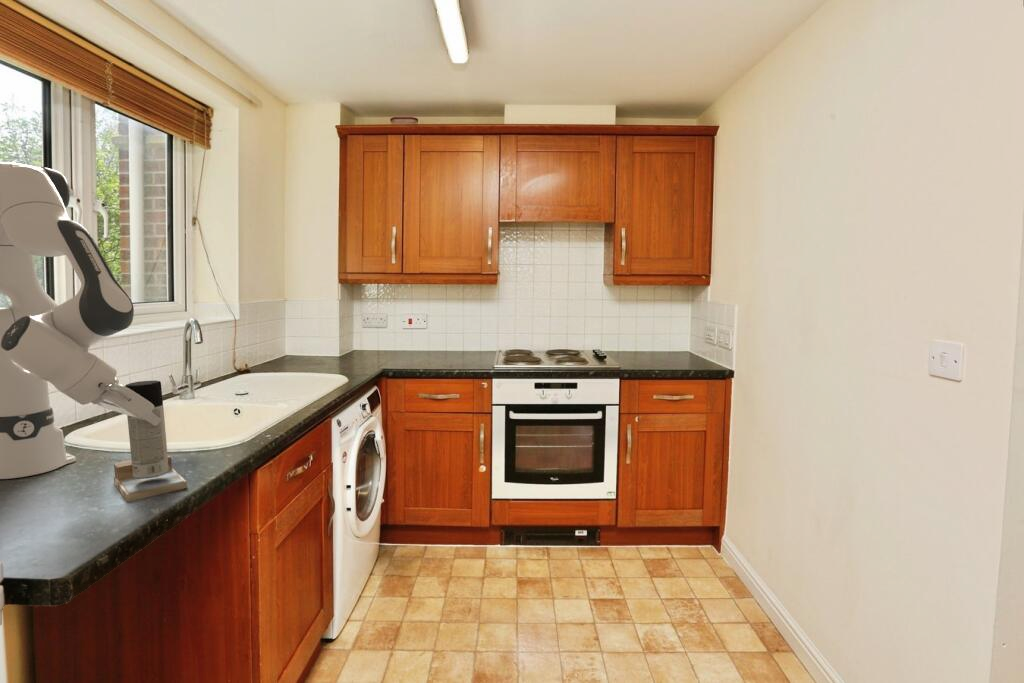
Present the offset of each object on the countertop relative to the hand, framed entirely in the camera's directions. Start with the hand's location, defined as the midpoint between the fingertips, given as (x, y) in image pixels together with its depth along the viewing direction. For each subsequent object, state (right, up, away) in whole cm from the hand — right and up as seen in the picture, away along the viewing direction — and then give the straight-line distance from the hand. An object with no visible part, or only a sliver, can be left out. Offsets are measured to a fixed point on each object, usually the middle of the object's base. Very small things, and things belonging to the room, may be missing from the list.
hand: (149, 420), depth 126 cm
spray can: (0, -12, +1) cm, 12 cm away
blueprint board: (-2, -15, +3) cm, 15 cm away
